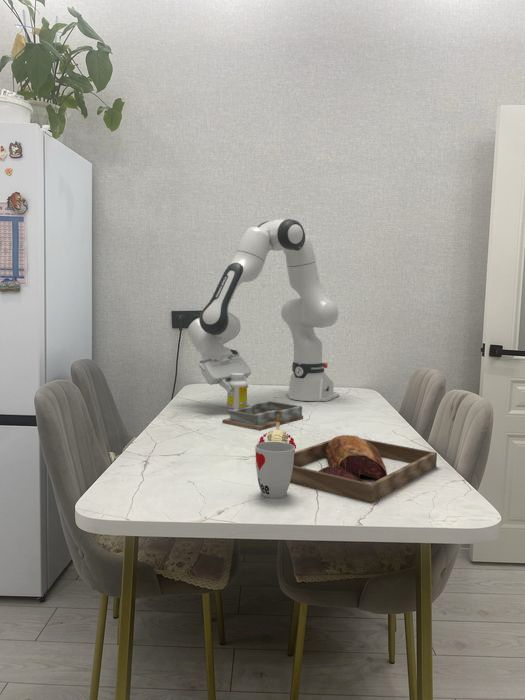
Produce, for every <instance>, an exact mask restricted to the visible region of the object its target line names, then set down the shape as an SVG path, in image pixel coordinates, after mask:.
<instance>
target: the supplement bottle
mask: <svg viewBox="0 0 525 700" xmlns="http://www.w3.org/2000/svg"><path fill="white" fill-rule="evenodd" d="M227 384H229V385H231V386H232V388H233V391H232V392H227V395H226V396H227V399H226V400H227V402H226V403H227V411H228V412H230V411H232V410H237V409H241V408H246V406H247V405H248V388H247V384H248V383H247V381H246V382H245V381H244V374H243V373H231V381H229V382H227Z"/></svg>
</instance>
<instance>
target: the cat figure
mask: <svg viewBox="0 0 525 700" xmlns="http://www.w3.org/2000/svg"><path fill="white" fill-rule="evenodd" d="M280 426H281V425H280V415H278V414H277V416H276V426H275V429H274V430H269V431H268V433H267V432H266V433H265V434H263V436H261V437H259V441H257V444H259V443H262V442H284V443H287V442H286V441H287V440H288V443H289V444H292V445H294V446H295V450H296V449H297V444H296V443H295V439H294V438H293V437H291V434H289V433H287V431H285V430H283V431H282V430H281V429H280ZM266 437H267V439H268V440H267V441H265V439H264V438H266Z"/></svg>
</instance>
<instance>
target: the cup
mask: <svg viewBox="0 0 525 700" xmlns="http://www.w3.org/2000/svg"><path fill="white" fill-rule="evenodd" d="M284 442H285V441H282V442H267V441H265V442H262V443H259V444H255V445H254V447H255V468H256V470H255V471H256V475H257V477H256V478H257V482H258V486H259V489H260V493H261V496H263V497H264V498H265V497H266V498H270V499H279V498H284V497H285V496H286V495H287V493H288V489H289V487H290V484H291V482H290V480H291V475H292V470H293V463H294V452H296V449H295V446H294V445H292V444H289V442H286V443H284Z"/></svg>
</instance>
